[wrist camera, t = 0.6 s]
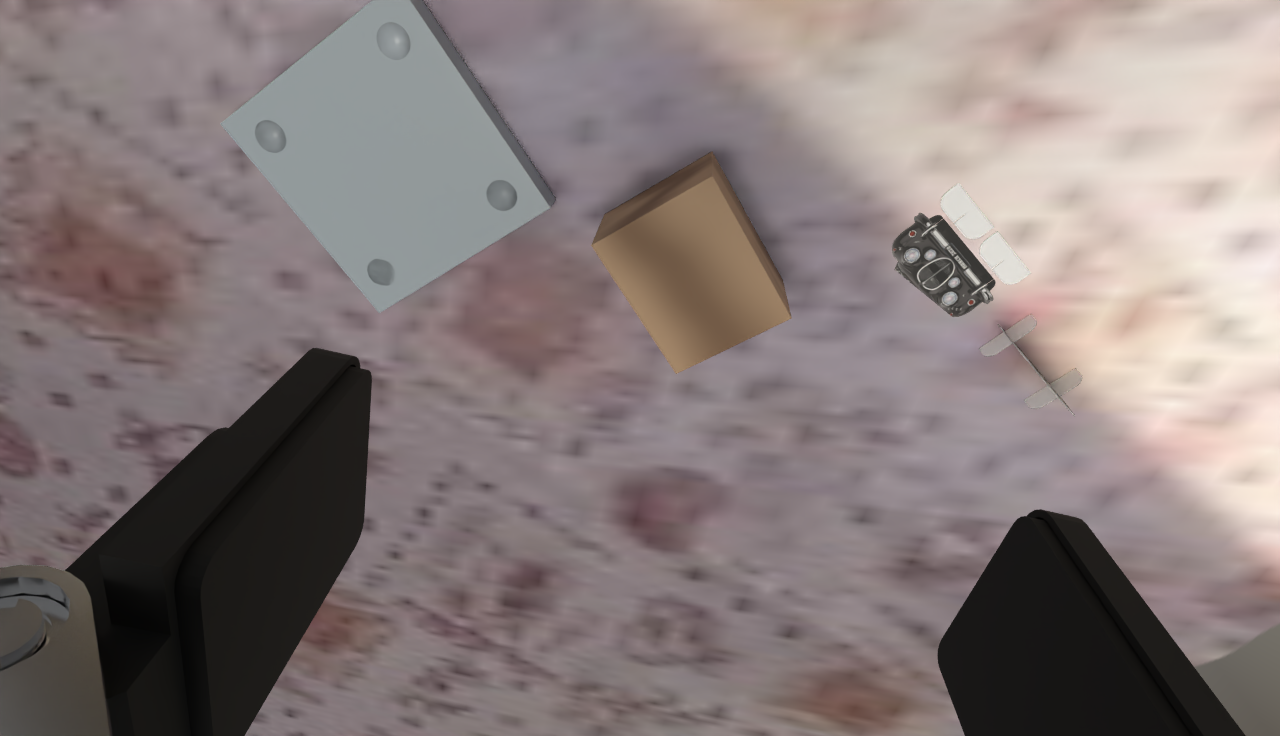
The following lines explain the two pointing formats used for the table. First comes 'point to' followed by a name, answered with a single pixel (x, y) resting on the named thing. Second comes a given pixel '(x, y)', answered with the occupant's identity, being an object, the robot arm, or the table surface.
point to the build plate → (390, 151)
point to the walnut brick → (692, 265)
